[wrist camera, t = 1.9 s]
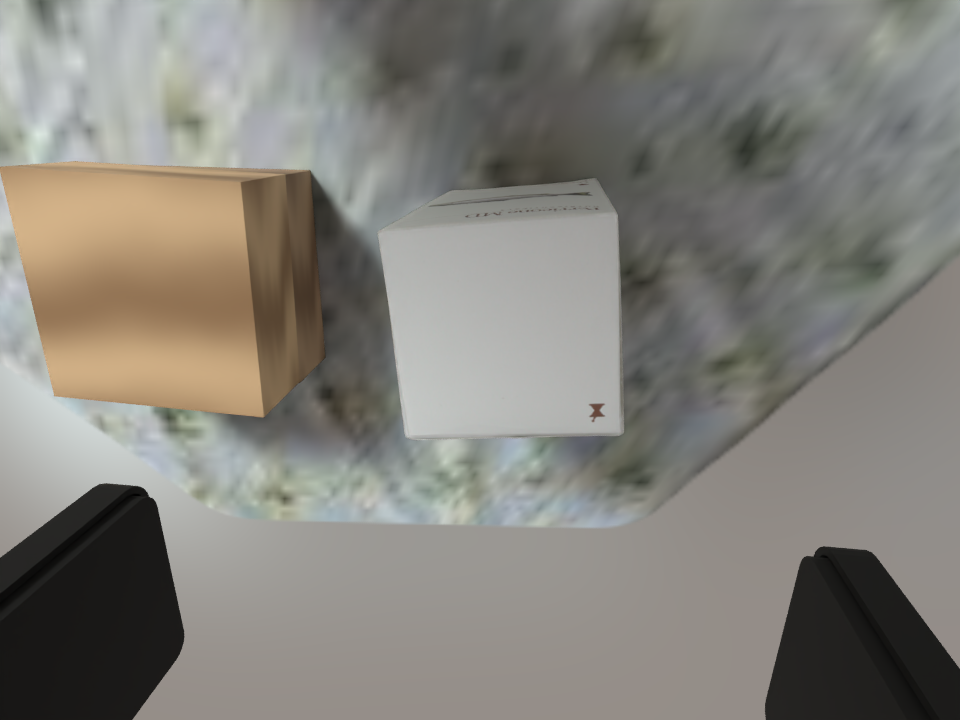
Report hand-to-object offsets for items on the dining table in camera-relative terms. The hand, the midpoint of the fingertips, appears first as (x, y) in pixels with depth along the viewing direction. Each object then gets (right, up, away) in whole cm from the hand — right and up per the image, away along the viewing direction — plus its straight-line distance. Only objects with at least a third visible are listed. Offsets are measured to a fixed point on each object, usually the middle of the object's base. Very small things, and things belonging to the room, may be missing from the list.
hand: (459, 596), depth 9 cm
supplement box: (+3, +9, +21) cm, 23 cm away
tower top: (-14, +7, +20) cm, 25 cm away
